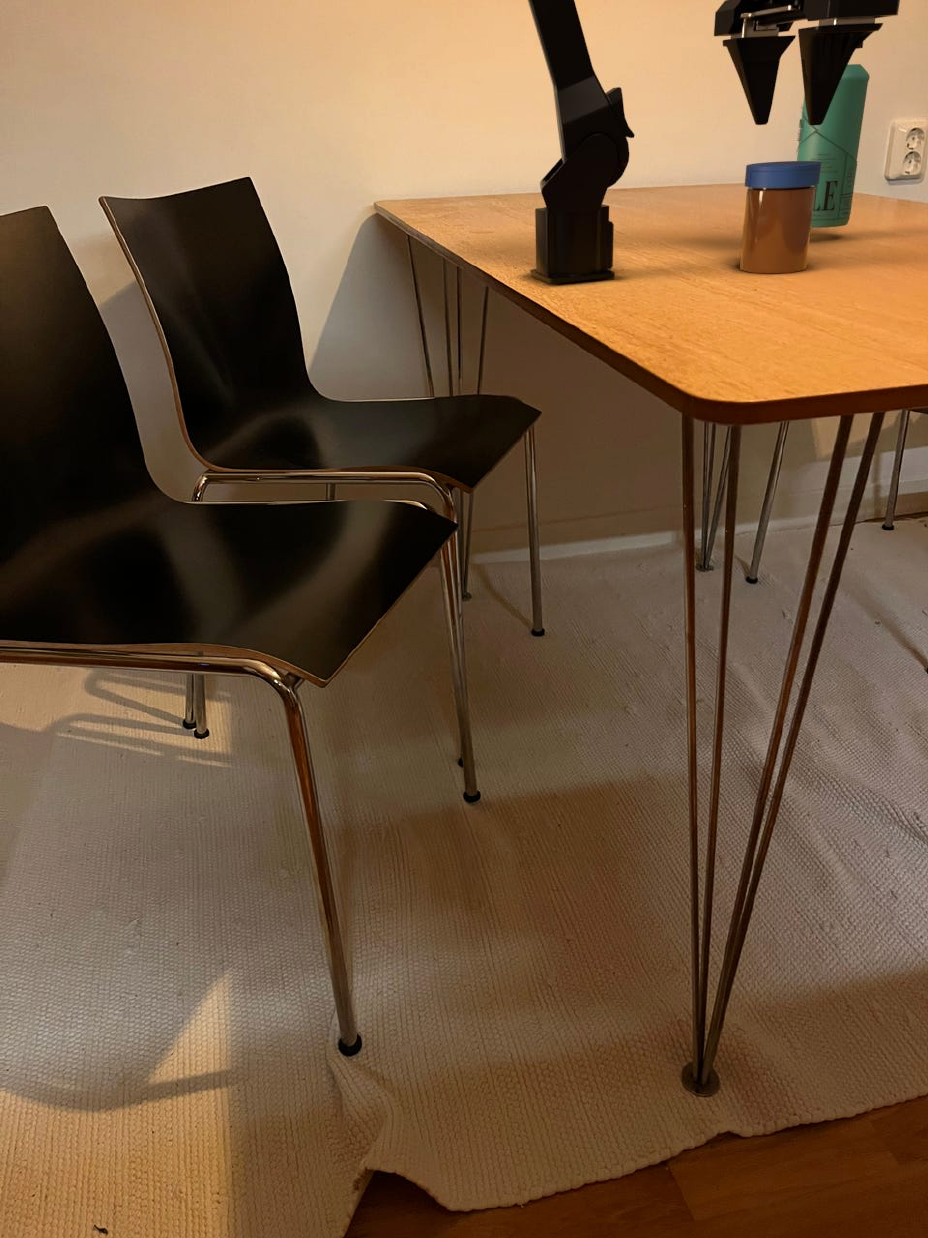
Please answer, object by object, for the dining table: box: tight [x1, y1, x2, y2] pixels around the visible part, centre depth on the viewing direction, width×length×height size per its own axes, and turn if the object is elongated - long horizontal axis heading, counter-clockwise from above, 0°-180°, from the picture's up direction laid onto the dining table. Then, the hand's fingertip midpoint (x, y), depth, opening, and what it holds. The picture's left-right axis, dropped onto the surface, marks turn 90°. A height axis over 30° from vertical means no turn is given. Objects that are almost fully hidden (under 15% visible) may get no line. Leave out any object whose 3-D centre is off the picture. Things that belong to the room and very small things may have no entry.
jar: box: [739, 185, 816, 274], centre depth 85 cm, size 6×6×8 cm
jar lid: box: [744, 160, 821, 188], centre depth 83 cm, size 6×6×2 cm
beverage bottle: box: [795, 41, 871, 229], centre depth 97 cm, size 6×7×20 cm
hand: (787, 124), depth 81 cm, fingers open, 8 cm apart
